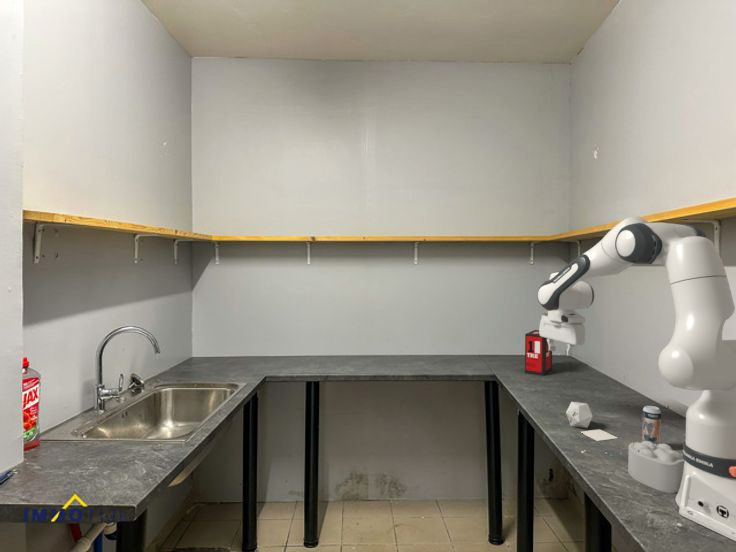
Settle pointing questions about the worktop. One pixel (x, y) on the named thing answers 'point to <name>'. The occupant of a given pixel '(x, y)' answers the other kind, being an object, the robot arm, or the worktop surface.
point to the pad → (599, 435)
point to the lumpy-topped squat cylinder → (656, 466)
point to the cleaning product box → (537, 354)
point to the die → (579, 414)
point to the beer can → (651, 424)
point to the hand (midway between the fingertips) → (560, 353)
